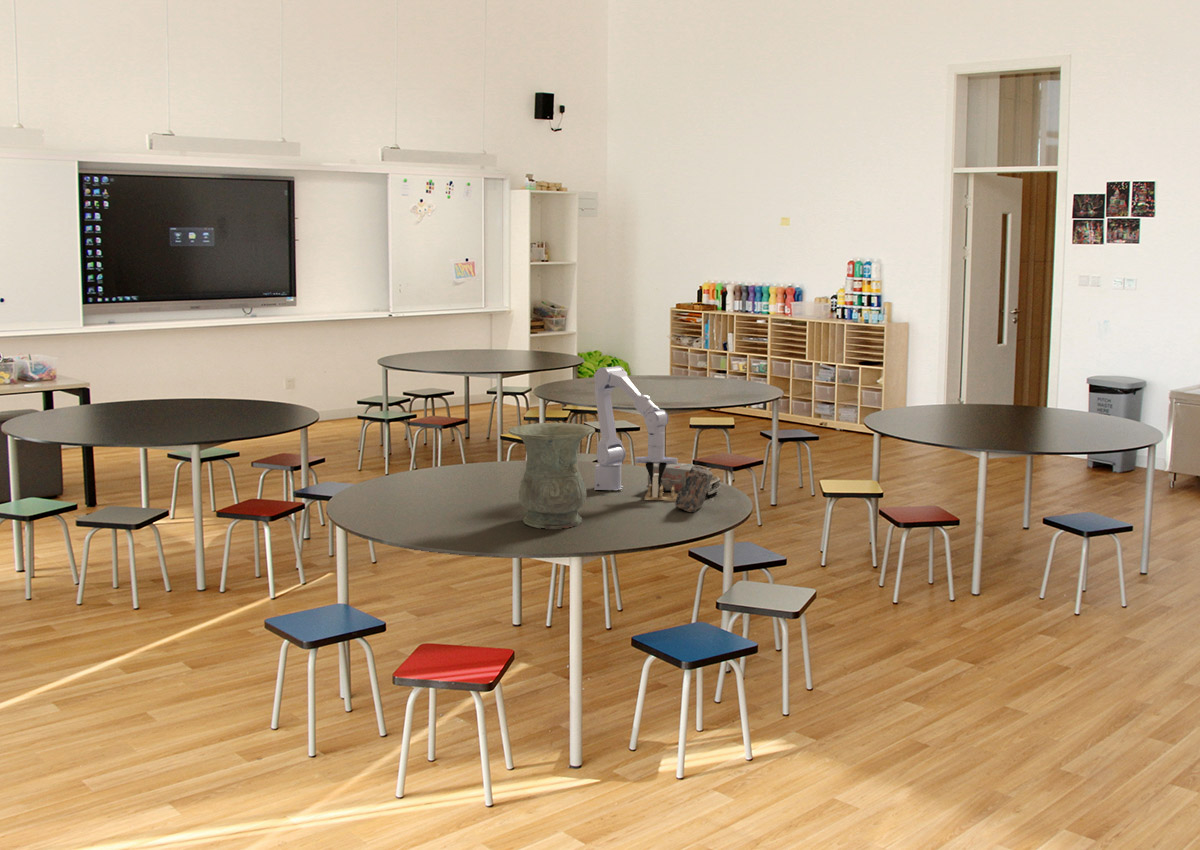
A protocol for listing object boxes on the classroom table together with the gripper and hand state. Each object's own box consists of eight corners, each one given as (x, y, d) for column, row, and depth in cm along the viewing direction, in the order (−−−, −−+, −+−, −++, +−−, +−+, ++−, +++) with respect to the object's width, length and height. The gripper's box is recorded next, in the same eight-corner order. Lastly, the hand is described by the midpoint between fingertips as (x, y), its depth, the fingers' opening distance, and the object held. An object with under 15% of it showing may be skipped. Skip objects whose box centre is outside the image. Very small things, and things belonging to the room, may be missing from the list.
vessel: (548, 508, 373) (548, 419, 368) (611, 520, 356) (611, 427, 352) (491, 523, 352) (490, 429, 348) (554, 537, 336) (554, 438, 331)
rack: (644, 500, 385) (644, 489, 384) (646, 494, 394) (646, 483, 393) (676, 501, 384) (676, 490, 383) (678, 495, 392) (678, 484, 392)
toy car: (710, 499, 387) (710, 471, 386) (645, 492, 399) (646, 464, 397) (721, 494, 397) (722, 466, 395) (658, 486, 408) (658, 459, 407)
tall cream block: (652, 497, 385) (652, 477, 384) (653, 493, 392) (654, 473, 391) (657, 497, 385) (657, 477, 384) (659, 493, 392) (659, 473, 391)
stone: (679, 514, 365) (680, 469, 362) (666, 505, 377) (666, 462, 375) (717, 512, 368) (718, 467, 366) (702, 503, 381) (703, 460, 378)
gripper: (634, 446, 383) (633, 485, 385) (676, 447, 381) (676, 487, 383) (636, 443, 390) (635, 481, 392) (677, 444, 388) (677, 482, 390)
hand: (655, 484), depth 388 cm, fingers closed on tall cream block, 2 cm apart
